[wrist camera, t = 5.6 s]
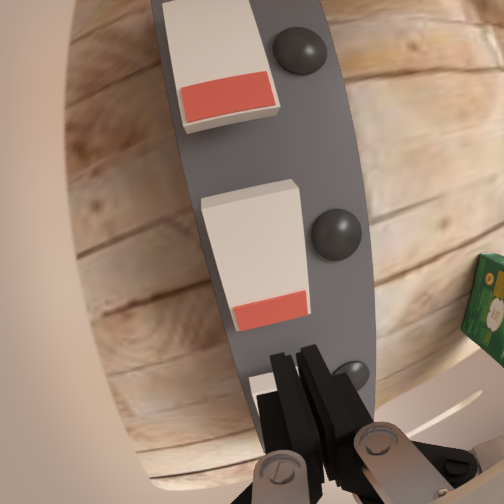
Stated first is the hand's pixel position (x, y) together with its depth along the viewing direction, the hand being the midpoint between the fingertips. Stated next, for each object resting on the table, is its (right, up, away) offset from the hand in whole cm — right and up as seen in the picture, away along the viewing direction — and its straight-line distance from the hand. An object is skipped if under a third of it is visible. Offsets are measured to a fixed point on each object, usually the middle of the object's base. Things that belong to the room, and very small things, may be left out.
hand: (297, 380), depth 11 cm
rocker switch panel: (0, +6, +10) cm, 11 cm away
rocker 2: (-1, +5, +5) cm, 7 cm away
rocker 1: (-3, +14, +3) cm, 14 cm away
